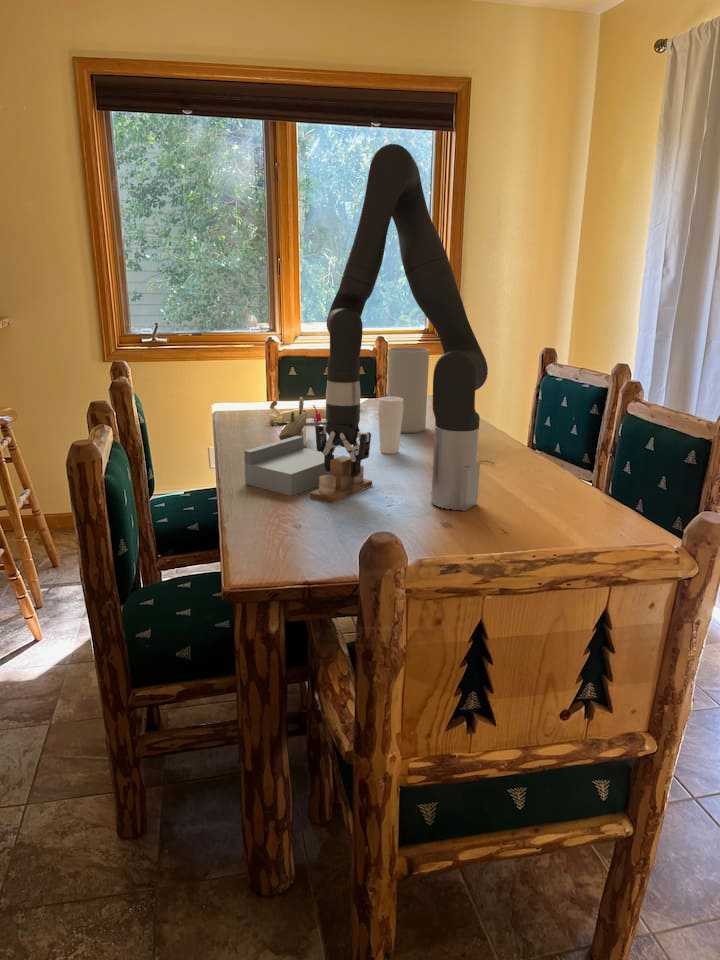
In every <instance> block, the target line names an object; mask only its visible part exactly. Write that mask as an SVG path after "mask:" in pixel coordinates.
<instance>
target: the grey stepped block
mask: <svg viewBox="0 0 720 960" xmlns="http://www.w3.org/2000/svg"><path fill="white" fill-rule="evenodd" d="M333 455H334V459H335V458H338V457H341V456H342V455H338V454H333ZM322 475H330V472H327V471H326V469H325V467H324V454H323V453H322V452H321V451H320V452H318V451H317V450H313V449H309V448H308V449H307V448H305V449H304V448H303V437H302V436H294V437H291V438H287V439H284V440H277V441H274V442H271V443H267V444H263V445H261V446H257V447H254V448H253V447H252V448H249V449H246V450H244V478H245V479H244V480H245V485H249V486H253V487H256V488H259V489H264V490H267V491H270V492H275V493H279V494H284V495H287V496H291V497H292V496H295V495H298V494H300V493H302V492H305V491H308V490H309V489H313V488H315V487H319V477H320V476H322Z"/></svg>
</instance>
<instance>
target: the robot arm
mask: <svg viewBox="0 0 720 960" xmlns="http://www.w3.org/2000/svg"><path fill="white" fill-rule="evenodd" d="M368 169H369V170H368V174H367V175H368V176H367V180H366V188H365V195H364V197H363V198H364V199H363V205H362V209H361V213H360V217H359V221H358V224H357V225H358V226H357V229H356V233H355V236H354V240H353V242H352V245H351V249H350V252H349V255H348V258H347V261H346V264H345V267H344V271H343V274H342V277H341V281H340V284H339V287H338V290H337V292H336V293H335V294H336V295H335V297H334V299H333V302H332V304H331V306H330V309H329V312H328V314H327V318H326V329H327V331H328V333H329V356H328V358H327V374H326V375H327V381H326V390H325V408H326V419H325V421H326V422H327V423H326V424H325V423H322V424H319V425H316V426H314V427H315V429H314V430H315V432H314V433H315V441H316V442H315V443H316V451H318V452H322V453H323V454H324V467H325V469H326V471H327V472H330V460H332V459H334V455H335V454H334V452H335V450H336V448H337V447H338V446H339V447H342V448H345V451H346V452H347V453H348V455H349V457H351V460H352V461H351V477H357V476H358V475H359V474H360V469H361V465H362V463H361V461H363V460H365V459H368V458H369V457H370V456H369V455H370V448H371V440H372V434H371V432H370V431H367V432H363V431H361V430H360V426H359V423H360V419H361V384H360V376H361V375H360V368H361V367H360V366H361V365H360V363H361V362H360V355H361V350H362V349H361V348H362V340H363V332H364V330H363V329H364V328H363V320H362V318H361V316H362V314H363V311H364V308H365V306H366V302H367V301H368V299H370V297H371V296H372V293H373V291H374V288H375V285H376V283H377V280H378V276H379V274H380V270H381V267H382V265H383V260H384V255H385V249H386V243H387V236H388V232H389V227H390V224H391V220H392V221H393V223H394V225H395V228H396V231H397V237H398V243H399V245H398V246H399V250H400V258H401V263H402V267H403V270H404V274H405V277H406V280H407V283H408V285H409V289H410V292H411V294H412V296H413V299H414V300H415V302H416V304H417V305H418V307H419V309H420V310H421V311H422V313H423V314H424V316H425V318H427V319H428V321H429V323H430V324H431V325H432V327H433V328H434V330H435V331H436V334H437V336H438V339H439V341H440V344H441V347H442V351H443V353H444V354H442V355H441V356H440V357H439V358H438V359H437V361H436V363H435V365H434V371H433V375H432V412H433V416H434V419H435V421H434V426H435V427H434V439H433V440H434V441H433V457H432V458H433V459H432V474H431V475H432V476H431V492H430V493H431V494H430V495H431V496H430V497H431V498H430V503H431V502H432V503H433V504H434V505H436V506H438V507H437V508H439V507H441V508H440V509H443V508H445V509H444V510H449V509H452V510H451V511H465V512H466V511H468V510H469V509H470V508H472V507H474V506H476V505H478V496H479V483H480V470H481V463H480V462H479V461H478V458H477V457H478V445H479V430H480V414H479V412H477V411H476V408H475V407H476V406H475V405H476V404H475V403H476V401H475V400H476V391H477V390H479V389H480V388H482V387H483V386H484V384H485V382H486V381H487V378H488V373H489V372H488V371H489V368H488V364H487V359H486V357H485V355H484V353H483V351H482V348H481V345H479V342H478V340H477V338H476V335H475V333H474V331H473V329H472V326H471V324H470V322H469V319H468V315H467V313H466V309H465V306H464V303H463V300H462V296H461V294H460V291H459V287H458V284H457V281H456V278H455V275H454V272H453V271H454V270H453V268H452V265H451V263H450V260H449V257H448V254H447V251H446V249H445V247H444V244H443V242H442V239H441V237H440V235H439V232H438V230H437V228H436V227H435V224H434V222H433V220H432V218H431V216H430V213H429V209H428V206H427V202H426V198H425V194H424V190H423V184H422V180H421V174H420V170H419V167H418V165H417V162H416V161H415V159H414V158H413V156H412V154H411V152H409V151H408V149H407V148H405V147H404V146H402V145H401V144H398V143H397V144H396V143H389V144H386V145H385V144H384V145H383V146H381V147H380V148H379V149H377V151H376V152H375V153H374V155H373V156H372V158H371V160H370V164H369V168H368ZM327 435H328V437H327ZM327 438H328V439H327ZM432 503H431V504H432ZM433 504H432V505H433ZM434 505H433V506H434ZM436 506H435V507H436Z"/></svg>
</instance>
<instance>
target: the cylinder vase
mask: <svg viewBox="0 0 720 960" xmlns="http://www.w3.org/2000/svg"><path fill="white" fill-rule="evenodd" d="M387 352H388V353H387V354H388V356H387V377H386V378H387V387H386V397H400V398H402V399H403V418H402V426H401V434H416V433H415V432H417V433H420V432H424V431H425V430H426V424H427V422H426V421H427V405H428V404H427V403H428V402H427V401H428V386H429V385H428V384H429V383H428V381H429V368H430V367H429V364H430V363H429V361H430V349H428V348H424V347H415V346H414V347H412V346H408V347H407V346H399V347H398V346H397V347H395V346H394V347H390V348H388V351H387Z"/></svg>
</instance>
